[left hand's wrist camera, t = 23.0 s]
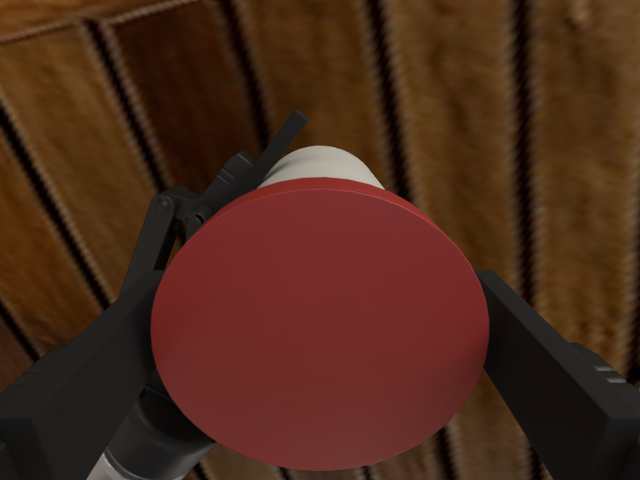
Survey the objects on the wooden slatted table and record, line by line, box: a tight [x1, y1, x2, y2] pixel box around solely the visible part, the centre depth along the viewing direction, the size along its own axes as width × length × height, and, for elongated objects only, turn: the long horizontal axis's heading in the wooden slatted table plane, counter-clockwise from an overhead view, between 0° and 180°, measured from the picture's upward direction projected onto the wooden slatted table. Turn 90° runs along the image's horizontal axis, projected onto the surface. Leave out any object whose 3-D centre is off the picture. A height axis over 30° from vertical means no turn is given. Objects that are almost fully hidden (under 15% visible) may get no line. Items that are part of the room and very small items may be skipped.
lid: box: [150, 177, 489, 471], centre depth 11 cm, size 10×10×2 cm
